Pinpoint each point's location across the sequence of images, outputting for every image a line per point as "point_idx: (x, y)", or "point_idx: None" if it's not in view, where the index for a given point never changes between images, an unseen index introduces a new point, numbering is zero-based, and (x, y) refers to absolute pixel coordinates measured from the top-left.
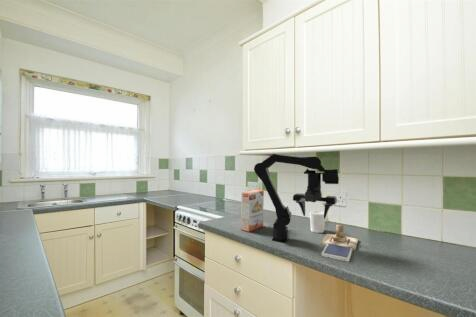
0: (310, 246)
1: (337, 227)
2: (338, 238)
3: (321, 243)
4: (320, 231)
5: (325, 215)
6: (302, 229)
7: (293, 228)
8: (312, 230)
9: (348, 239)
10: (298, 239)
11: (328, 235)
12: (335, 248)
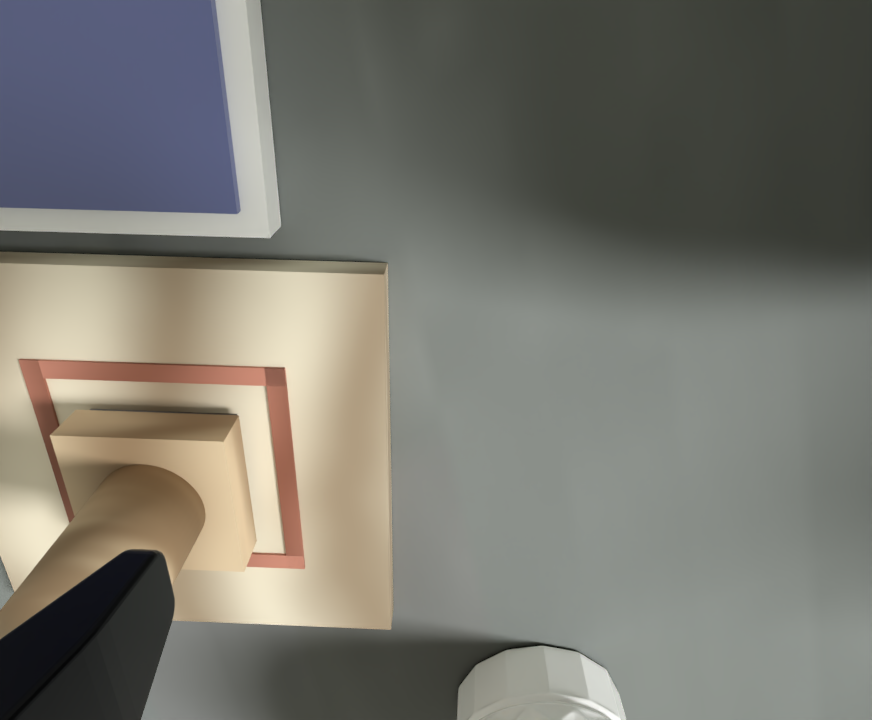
0: (520, 76)
1: None
2: (146, 435)
3: (378, 267)
4: (487, 673)
5: (11, 638)
6: (725, 684)
7: (851, 676)
8: (591, 671)
9: None
10: (753, 304)
11: (357, 577)
12: (66, 28)
